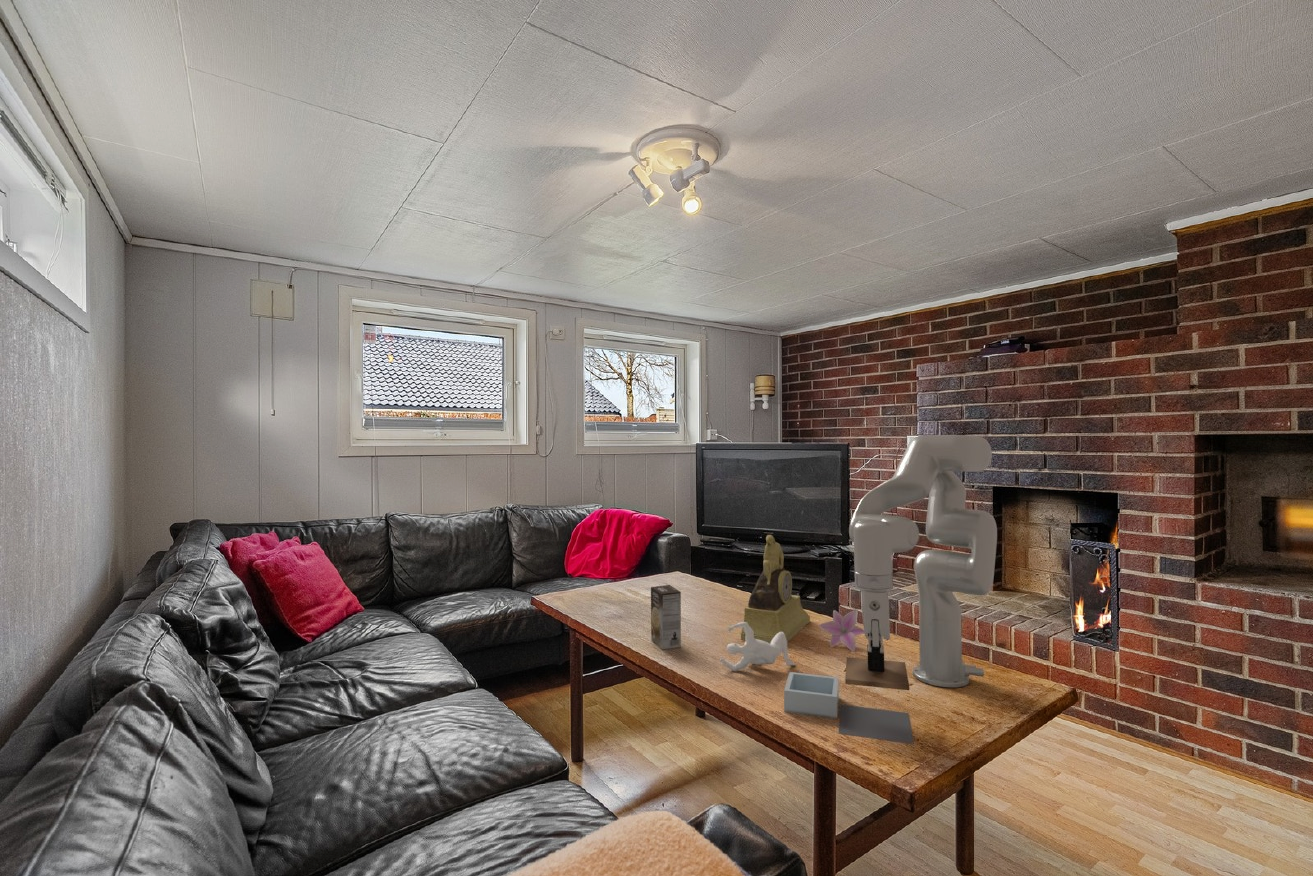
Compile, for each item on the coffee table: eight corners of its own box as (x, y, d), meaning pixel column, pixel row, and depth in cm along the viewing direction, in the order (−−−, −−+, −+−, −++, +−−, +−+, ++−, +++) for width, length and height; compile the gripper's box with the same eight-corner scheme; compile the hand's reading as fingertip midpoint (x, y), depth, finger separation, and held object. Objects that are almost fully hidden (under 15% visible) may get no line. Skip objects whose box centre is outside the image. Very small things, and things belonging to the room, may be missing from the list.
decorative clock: (782, 647, 173) (781, 542, 173) (740, 640, 180) (739, 539, 180) (809, 621, 197) (809, 530, 198) (772, 616, 204) (771, 527, 204)
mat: (908, 714, 129) (908, 713, 129) (914, 746, 116) (914, 744, 116) (840, 706, 134) (840, 704, 134) (838, 735, 121) (838, 733, 121)
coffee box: (650, 640, 180) (649, 586, 180) (669, 637, 182) (669, 584, 182) (661, 650, 171) (661, 593, 171) (682, 647, 173) (681, 591, 174)
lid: (905, 666, 129) (904, 639, 129) (909, 690, 118) (908, 660, 118) (846, 661, 133) (846, 634, 133) (845, 684, 122) (844, 654, 122)
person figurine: (765, 615, 167) (728, 618, 154) (805, 635, 158) (770, 640, 145) (752, 660, 167) (714, 667, 154) (791, 682, 159) (755, 691, 145)
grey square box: (838, 699, 137) (838, 677, 137) (837, 720, 127) (836, 697, 127) (789, 693, 141) (789, 672, 141) (784, 713, 131) (784, 690, 131)
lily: (814, 643, 178) (813, 620, 174) (840, 622, 184) (839, 599, 180) (848, 667, 170) (848, 643, 165) (874, 644, 175) (874, 620, 171)
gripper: (895, 591, 116) (897, 686, 117) (891, 571, 132) (893, 655, 132) (854, 589, 119) (856, 682, 119) (855, 570, 134) (857, 652, 135)
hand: (875, 666), depth 126 cm, fingers closed on lid, 3 cm apart
